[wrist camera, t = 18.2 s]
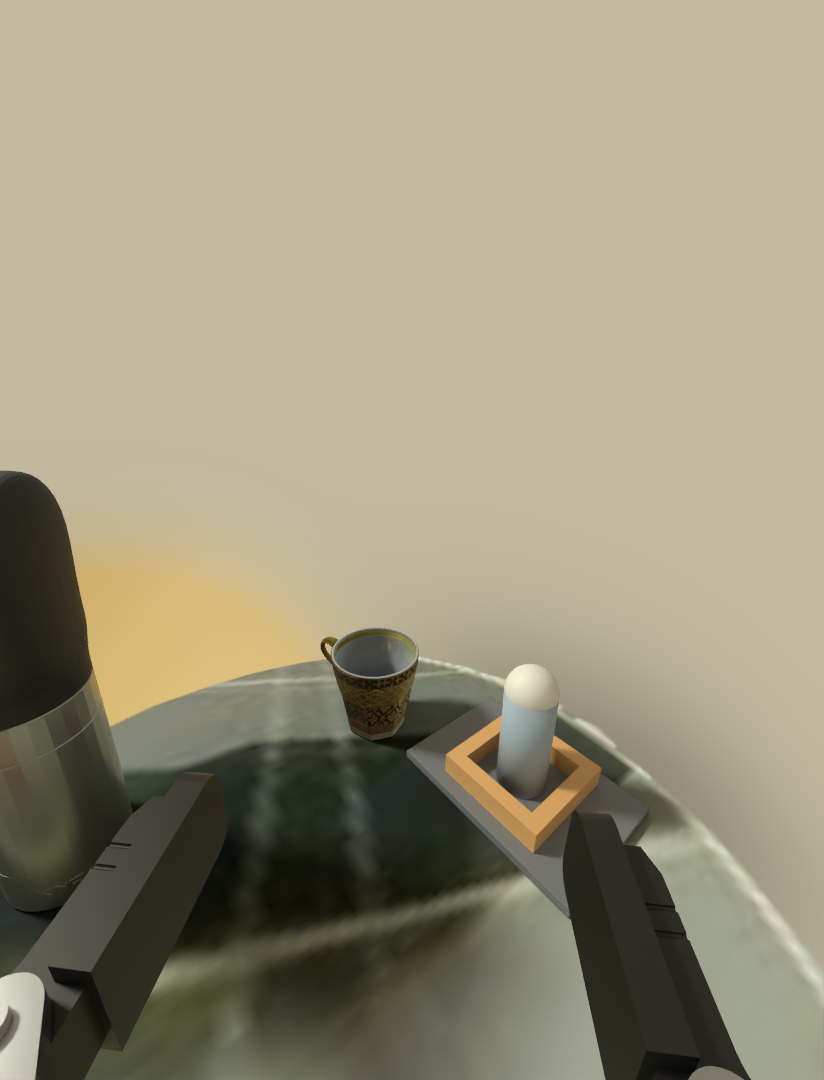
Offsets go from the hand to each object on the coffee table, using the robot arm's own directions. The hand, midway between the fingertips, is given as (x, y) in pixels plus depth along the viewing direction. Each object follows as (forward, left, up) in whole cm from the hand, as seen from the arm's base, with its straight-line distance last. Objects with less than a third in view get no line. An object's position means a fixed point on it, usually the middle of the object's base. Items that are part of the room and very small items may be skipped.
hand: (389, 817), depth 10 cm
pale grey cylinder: (-13, +27, -29) cm, 41 cm away
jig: (-13, +27, -30) cm, 42 cm away
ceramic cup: (-31, +20, -30) cm, 47 cm away
